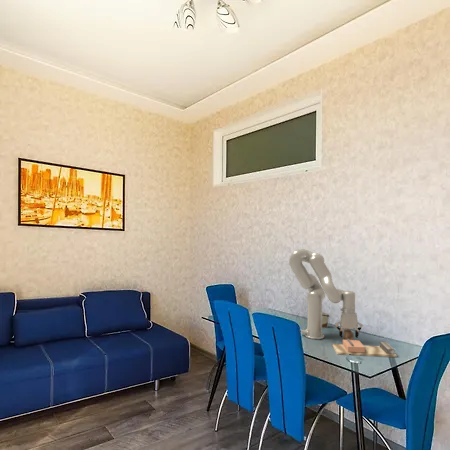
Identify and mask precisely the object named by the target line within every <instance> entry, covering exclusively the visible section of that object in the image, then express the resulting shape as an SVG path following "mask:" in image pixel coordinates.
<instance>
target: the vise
mask: <svg viewBox="0 0 450 450" xmlns="http://www.w3.org/2000/svg"><path fill="white" fill-rule="evenodd" d="M331 345H332V348H333V350H334V351H335V353H336V354H337V355H341V356H342V355H343V356H360V355H365V356H366V357H387V358H397V357H398V355H397V354H396V352H395V348H393V346H391V344H389V343H388V341H380V342H379V345H365V344H363V345H364V346H365V353H364V352H348V351H347V350H346V349H345V347H344V346H343V343H332V344H331ZM349 354H351V355H349ZM365 356H364V357H365Z"/></svg>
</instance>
